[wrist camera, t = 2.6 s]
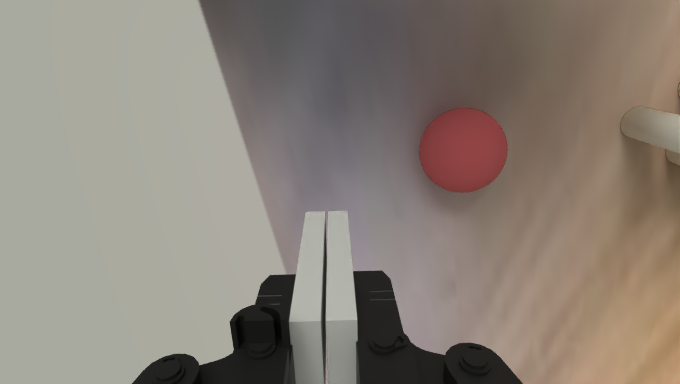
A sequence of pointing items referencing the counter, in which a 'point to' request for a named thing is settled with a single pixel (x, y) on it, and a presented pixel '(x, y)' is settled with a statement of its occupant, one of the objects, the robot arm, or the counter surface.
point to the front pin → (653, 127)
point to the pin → (673, 157)
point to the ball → (463, 150)
